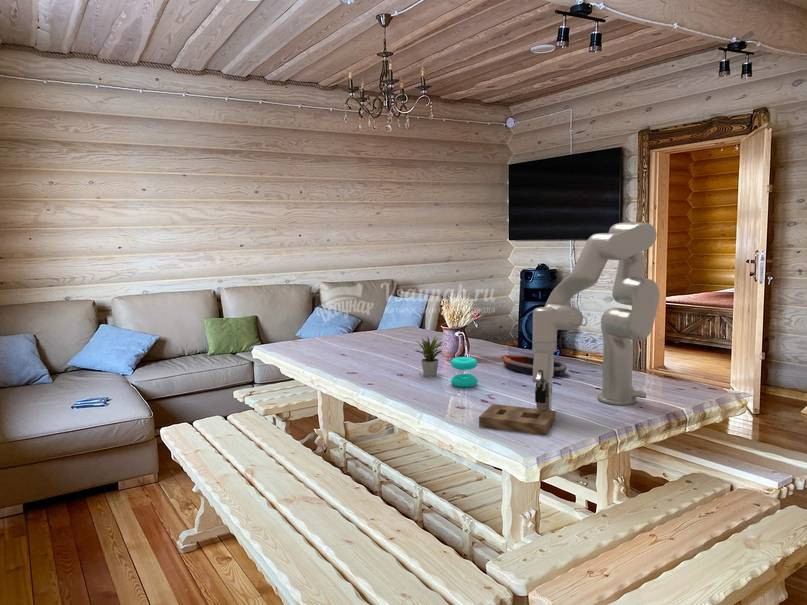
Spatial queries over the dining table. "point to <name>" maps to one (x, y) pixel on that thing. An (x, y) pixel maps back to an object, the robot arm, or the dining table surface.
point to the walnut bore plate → (517, 419)
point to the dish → (529, 364)
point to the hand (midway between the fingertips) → (543, 398)
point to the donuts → (464, 379)
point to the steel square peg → (548, 403)
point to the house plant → (430, 356)
